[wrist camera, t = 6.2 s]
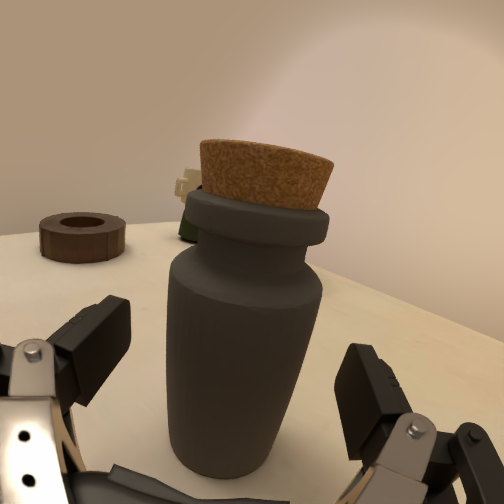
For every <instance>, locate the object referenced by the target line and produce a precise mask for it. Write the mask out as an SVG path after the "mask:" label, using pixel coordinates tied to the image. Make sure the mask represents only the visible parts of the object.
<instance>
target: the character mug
mask: <svg viewBox="0 0 504 504" xmlns="http://www.w3.org/2000/svg"><path fill="white" fill-rule="evenodd" d="M182 183H183V185H182V191H181V184H182ZM198 189H202V176H201V169H196V168H185V171H184V178H178V179H177V181H176V187H175V196H177V197H181V201H182V202H183V203H185V204H186V198H187V194H188V193H189V192H191V191H194V190H198ZM184 213H185V210H184ZM184 213H183V217H182V220H181V224H180V228H179V233H178V234H179V235H180V236H182V237H183V238H185V239H187V240H192V241H198V232H199V228H198V227H195V226H194V225H192V224H190V223H189V222H188V221H187V220H186V219H185V214H184Z"/></svg>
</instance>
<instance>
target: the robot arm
mask: <svg viewBox="0 0 504 504" xmlns="http://www.w3.org/2000/svg"><path fill="white" fill-rule="evenodd" d="M130 342H131V310H130V302H129V300H127V299H123V298H120V297H116V296H112V295H109V296H107V297H106V298H105V299H104V300H102V301H101V302H100V303H99V304H98V305H97V304H94V305H91V306H89V307H86V308H84V309H82V310H81V311H80V312H79V313H77V314H76V315H75V317H73V318H71V319H70V320H69V322H67V323H65V324H64V325H63V326H62V327H61V328H59V329H58V330H57V331H56V332H55V333H54V334H52V335H51V336H50V337H49V338H48V339H47V340H46V341H45V340H42V339H28V340H25V341H23V342H21V343H19V344H18V345H17V346H16V347H11V346H7V345H3V344H0V504H290V501H274V500H261V499H251V498H236V499H196V498H193V497H191V496H188V495H186V494H184V493H182V492H180V491H178V490H176V489H174V488H172V487H170V486H168V485H166V484H164V483H162V482H160V481H159V480H157V479H155V478H152V477H149V476H146V475H143V474H140V473H137V472H134V471H132V470H129V469H126V468H124V467H121V466H118V465H116V464H114V465H113V467H112V469H111V471H110V473H109V472H101V471H87V470H86V468H85V465H84V463H83V460H82V457H81V454H80V450H79V446H78V441H77V436H76V431H75V426H74V421H73V415H72V410H71V406H72V405H73V403H74V402H76V403H78V404H80V405H82V406H85V407H87V405H88V404H89V403H90V401H91V400H92V398H93V397H94V396H95V394H96V393H97V391H98V390H99V389H100V387H101V386H102V384H103V383H104V382H105V380H106V379H107V378H108V376H109V375H110V374H111V372H112V371H113V369H114V368H115V367H116V365H117V364H118V363H119V361H120V360H121V359H122V357H123V356H124V355H125V353H126V352H127V351H128V349H129V346H130ZM334 392H335V396H336V401H337V405H338V410H339V414H340V419H341V423H342V428H343V433H344V437H345V442H346V447H347V452H348V457H349V461H350V460H362V463H363V466H362V467H361V468H360V469H359V470H358V472H357V473H356V475H355V476H354V478H353V479H352V481H351V482H350V484H349V485H348V486H347V488H346V489H345V491H344V492H343V493H342V495H341V496H340V497H339V499H338V500H337V501H336V503H335V504H459V503H458V500H457V497H456V494H455V491H454V488H453V485H452V483H453V482H454V481H455V480H457V479H458V478H459V477H460V479H461V482H462V485H463V487H464V490H465V493H466V497H467V500H466V504H504V466H503V464H502V462H501V460H500V458H499V456H498V454H497V452H496V450H495V448H494V446H493V444H492V442H491V440H490V438H489V436H488V434H487V433H486V431H485V430H484V429H483V428H482V427H480V426H479V425H477V424H475V423H470V422H466V423H463V424H462V425H460V427H459V428H458V429H457V430H456V432H455V433H454V434H453V433H446V432H440V431H436V428H435V426H434V424H433V423H432V422H431V421H430V420H429V419H428V418H427V417H425V416H423V415H421V414H418V413H413V411H412V409H411V407H410V405H409V403H408V401H407V399H406V397H405V395H404V393H403V390H402V388H401V387H400V384H399V382H398V381H397V379H396V377H395V375H394V373H393V371H392V369H391V367H390V366H389V365H387V364H386V363H385V362H384V361H383V360H382V359H379V358H378V356H377V354H376V352H375V350H374V348H373V347H372V345H366V344H356V343H352V344H350V345H349V347H348V349H347V352H346V354H345V357H344V359H343V361H342V364H341V366H340V369H339V371H338V373H337V376H336V379H335V384H334Z"/></svg>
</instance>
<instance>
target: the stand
mask: <svg viewBox="0 0 504 504" xmlns="http://www.w3.org/2000/svg"><path fill="white" fill-rule="evenodd" d="M125 229H126V222H125V221H124V220H123V219H121V218H119V217H118V216H112V215H108V214H101V213H89V212H74V213H61V214H57V215H52V216H50V217H46V218H44V219H43V220H41V221H40V224H39V237H40V251H41V252H42V256H46V257H48V258H50V259H52V260H56V261H60V262H67V263H92V262H98V261H104V260H107V261H108V260H109V259H111V258H114V257H116V256H118V255H119V254H121V253H122V252H123V251H124V248H125Z"/></svg>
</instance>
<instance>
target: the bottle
mask: <svg viewBox="0 0 504 504" xmlns="http://www.w3.org/2000/svg"><path fill="white" fill-rule="evenodd" d="M200 159H201V176H202V189H198V190H194V191H191V192H189V193H188V194H187V198H186V204H185V213H184V214H185V219H186V220H187V221H188V222H189V223H190V224H192V225H194V226H195V227H198V228H199V232H198V241H197V244H196V245H194V246H191V247H189V248H188V249H186V250H184V251H182V252H181V253H180V254H179V255H178V256H176V257H175V258H174V260H173V261H172V263H171V267H170V271H169V284H168V301H167V330H166V385H167V410H168V427H169V437H170V443H171V446H172V448H173V451H174V453H175V454H176V456H177V457H178V458H179V460H180V461H181V462H182V463H184V464H185V465H186V466H187V467H189V468H190V469H192V470H194V471H196V472H197V473H200V474H202V475H205V476H210V477H214V478H235V477H240V476H243V475H246V474H248V473H250V472H252V471H254V470H255V469H257V468H258V467H259V466H260V465H261V464H262V463H263V462H264V461H265V459H266V458H267V456H268V454H269V452H270V450H271V448H272V445H273V443H274V440H275V438H276V436H277V433H278V431H279V428H280V425H281V423H282V420H283V418H284V415H285V413H286V410H287V407H288V405H289V402H290V399H291V396H292V393H293V391H294V388H295V385H296V382H297V379H298V376H299V373H300V370H301V367H302V364H303V360H304V357H305V354H306V351H307V348H308V344H309V341H310V338H311V334H312V331H313V328H314V324H315V321H316V317H317V313H318V309H319V305H320V301H321V297H322V290H323V288H322V284H321V281H320V279H319V278H318V276H317V275H316V273H315V272H314V271H313V270H312V269H311V267H310V266H308V265H307V264H306V263H305V262H304V261H305V255H306V251H307V247H308V246H313V245H317V244H320V243H322V242H323V241H324V240H325V238H326V234H327V230H328V225H329V215H328V214H327V213H325V212H324V211H322V210H320V209H318V208H317V207H318V204H319V202H320V200H321V197H322V195H323V192H324V190H325V187H326V185H327V182H328V180H329V177H330V175H331V172H332V170H333V167H334V163H333V162H331V161H330V160H328V159H325V158H323V157H320V156H317V155H313V154H310V153H306V152H302V151H299V150H295V149H290V148H285V147H280V146H275V145H269V144H262V143H256V142H249V141H239V140H224V139H210V140H204V141H202V142H201V143H200Z"/></svg>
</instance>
